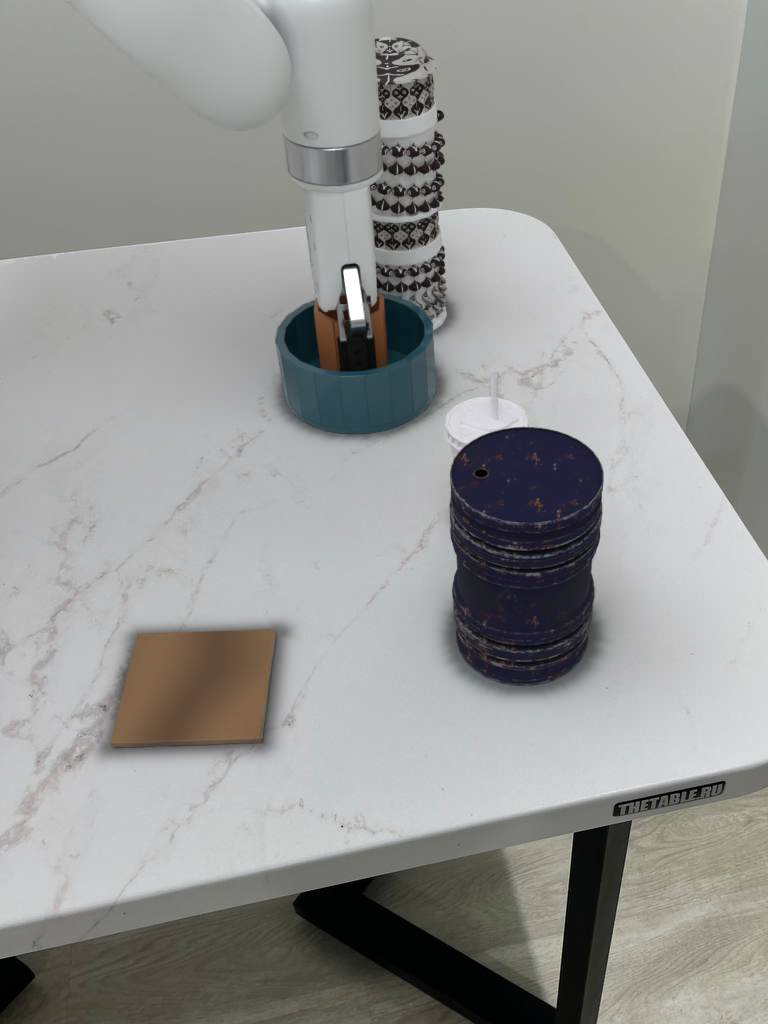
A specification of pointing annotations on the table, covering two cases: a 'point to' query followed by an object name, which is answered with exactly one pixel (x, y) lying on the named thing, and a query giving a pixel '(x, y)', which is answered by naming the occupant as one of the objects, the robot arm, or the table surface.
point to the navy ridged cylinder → (524, 552)
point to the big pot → (359, 373)
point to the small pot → (330, 332)
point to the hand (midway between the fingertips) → (353, 353)
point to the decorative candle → (409, 179)
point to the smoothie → (482, 417)
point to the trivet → (196, 689)
